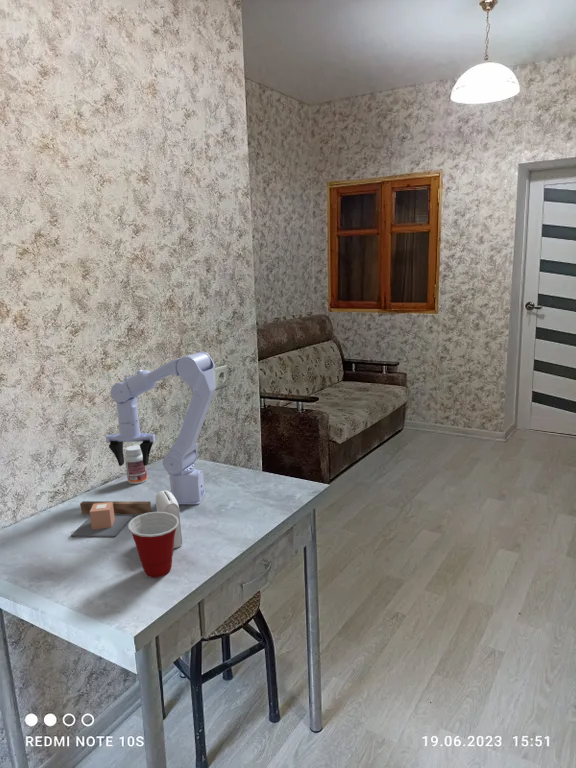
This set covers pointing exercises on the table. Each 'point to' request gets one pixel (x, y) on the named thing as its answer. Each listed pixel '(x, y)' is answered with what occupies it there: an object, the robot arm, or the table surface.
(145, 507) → the walnut board
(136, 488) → the table surface
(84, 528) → the slate mat
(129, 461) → the pill bottle
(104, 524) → the marked cube
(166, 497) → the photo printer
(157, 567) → the plastic cup
